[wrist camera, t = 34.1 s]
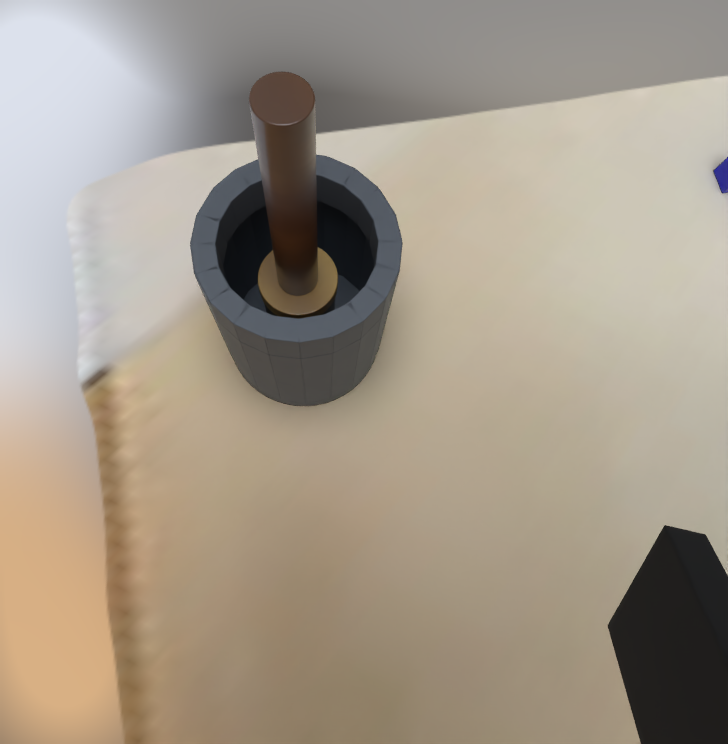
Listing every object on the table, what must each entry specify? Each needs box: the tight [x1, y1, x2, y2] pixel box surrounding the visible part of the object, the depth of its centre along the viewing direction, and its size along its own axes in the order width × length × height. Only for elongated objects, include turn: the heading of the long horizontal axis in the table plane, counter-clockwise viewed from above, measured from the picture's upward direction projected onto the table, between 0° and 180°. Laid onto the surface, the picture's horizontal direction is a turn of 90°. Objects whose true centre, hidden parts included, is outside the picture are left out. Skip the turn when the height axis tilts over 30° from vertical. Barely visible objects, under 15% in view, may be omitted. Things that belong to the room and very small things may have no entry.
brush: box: [249, 72, 338, 319], centre depth 31 cm, size 4×4×22 cm
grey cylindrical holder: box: [190, 155, 402, 406], centre depth 37 cm, size 10×10×13 cm
